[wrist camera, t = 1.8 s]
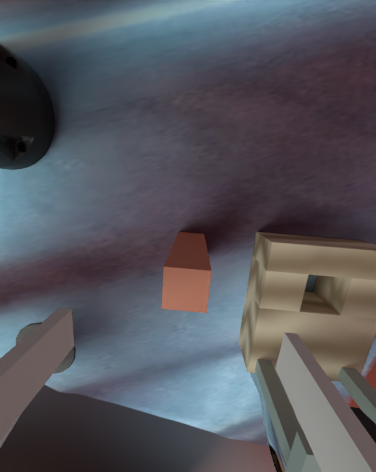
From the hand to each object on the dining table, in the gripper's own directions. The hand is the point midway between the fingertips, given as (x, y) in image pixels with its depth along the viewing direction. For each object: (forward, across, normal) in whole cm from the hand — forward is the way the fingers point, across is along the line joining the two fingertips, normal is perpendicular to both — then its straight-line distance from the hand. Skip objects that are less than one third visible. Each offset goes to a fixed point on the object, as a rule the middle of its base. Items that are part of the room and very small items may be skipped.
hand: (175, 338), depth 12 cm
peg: (+19, 0, +1) cm, 19 cm away
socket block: (+19, +18, -6) cm, 27 cm away
